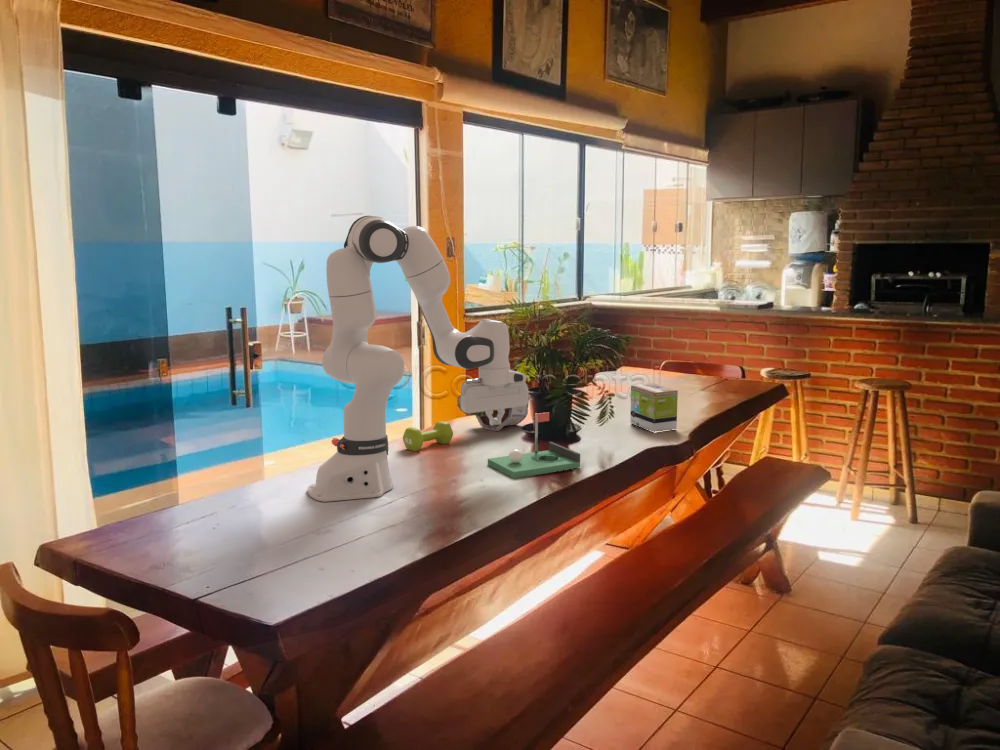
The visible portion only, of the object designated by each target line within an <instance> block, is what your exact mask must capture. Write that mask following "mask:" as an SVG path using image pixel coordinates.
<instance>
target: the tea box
mask: <svg viewBox="0 0 1000 750" xmlns="http://www.w3.org/2000/svg"><path fill="white" fill-rule="evenodd" d="M678 395H679V391H678V390H677V389H674V388H670V387H668V386H663V385H660V384H657V383H652V382H651V383H644V384H636V385H630V415H629V416H630V419H629V421H630V422H629V423H631V424H634V425H637V426H639V427H642V428H645V429H648V430H651V431H654V432H655V431H663V430H672V429H678V427H677V426H678V422H677V421H678ZM631 424H630V425H631ZM634 425H633V426H634ZM637 426H636V427H637ZM639 427H638V428H639ZM642 428H641V429H642Z"/></svg>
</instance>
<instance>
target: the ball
mask: <svg viewBox="0 0 1000 750" xmlns="http://www.w3.org/2000/svg"><path fill="white" fill-rule="evenodd" d="M522 454H523V453H522V451H521V450H520V449H512V450H511V451H509V453H508V456H509V459H510V461H511V462H513V463H519V462H520V461H521V460H522V458H523V455H522Z"/></svg>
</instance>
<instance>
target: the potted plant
mask: <svg viewBox="0 0 1000 750" xmlns="http://www.w3.org/2000/svg"><path fill="white" fill-rule="evenodd" d="M461 395H462V394H459V396H458V397H457V401H456V402H457V405H456V407H458V408H459V411H461V412H462V413H464V414H466V415H469V416H475V417H476V420H477V422H478V423H479V425H480V426H481V428H483V429H484V430H488V431H489V430H491V431H494V432H497V431H500V430H502V429H503V428H504V427H507V426H516V425H519V424H521V423H522V421H524V420H525V419H526V418H527V416H528V413H529V405H530V404H529V402H528V404H527V405H526V406H520V407H513V408H505V413H504V415H503V417H502V418H501V424H500V425H493V426H491V425H490V423H489V418H488V416H487V415H486V411H483V412H475V413H465V412H463V411H462V410H461ZM497 415H498V411H497V410H493V414H492V416H493V418H497Z"/></svg>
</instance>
